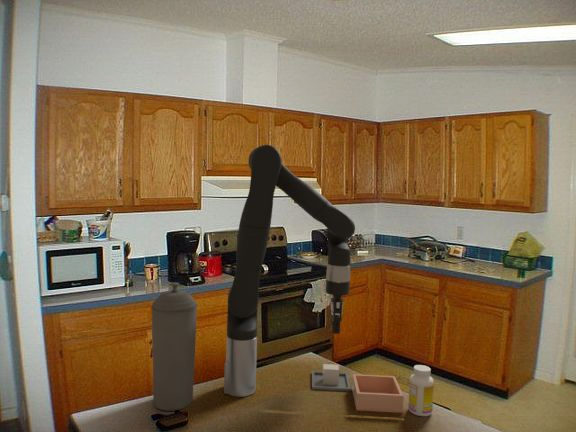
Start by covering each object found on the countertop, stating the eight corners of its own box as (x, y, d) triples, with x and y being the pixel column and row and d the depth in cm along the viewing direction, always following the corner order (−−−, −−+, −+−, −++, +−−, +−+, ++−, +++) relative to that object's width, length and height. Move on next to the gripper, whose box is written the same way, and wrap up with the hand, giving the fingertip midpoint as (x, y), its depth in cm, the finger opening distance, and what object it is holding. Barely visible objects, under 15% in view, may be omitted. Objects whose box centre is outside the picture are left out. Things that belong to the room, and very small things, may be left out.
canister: (201, 394, 136) (203, 279, 133) (187, 415, 123) (189, 289, 121) (160, 391, 137) (161, 277, 134) (142, 411, 124) (143, 286, 122)
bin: (356, 412, 128) (357, 393, 128) (351, 391, 141) (352, 374, 141) (402, 414, 128) (403, 395, 127) (393, 393, 141) (394, 376, 140)
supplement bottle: (433, 409, 131) (436, 366, 130) (430, 419, 125) (433, 374, 124) (410, 403, 134) (412, 361, 133) (406, 413, 128) (408, 369, 127)
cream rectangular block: (322, 384, 144) (323, 369, 144) (322, 378, 148) (323, 364, 148) (338, 385, 144) (339, 369, 143) (337, 379, 148) (338, 364, 147)
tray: (311, 391, 140) (312, 386, 140) (311, 375, 152) (311, 370, 152) (350, 393, 140) (350, 388, 140) (347, 376, 152) (347, 372, 151)
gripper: (325, 273, 150) (323, 321, 151) (326, 282, 136) (324, 335, 137) (348, 274, 149) (345, 322, 151) (351, 284, 135) (348, 337, 136)
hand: (335, 328), depth 144 cm, fingers open, 8 cm apart
